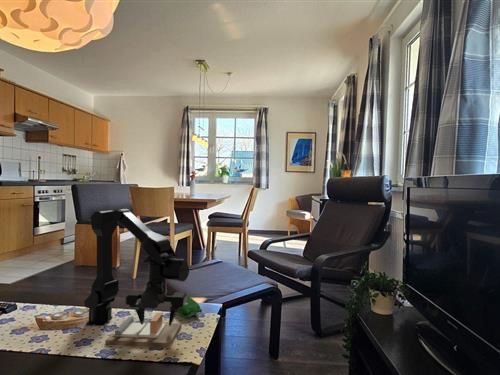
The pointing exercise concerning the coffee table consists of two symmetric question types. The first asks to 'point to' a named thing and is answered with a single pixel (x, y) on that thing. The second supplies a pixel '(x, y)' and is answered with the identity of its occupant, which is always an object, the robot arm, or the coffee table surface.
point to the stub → (153, 327)
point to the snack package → (189, 308)
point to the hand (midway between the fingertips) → (156, 324)
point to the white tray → (129, 328)
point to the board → (147, 338)
